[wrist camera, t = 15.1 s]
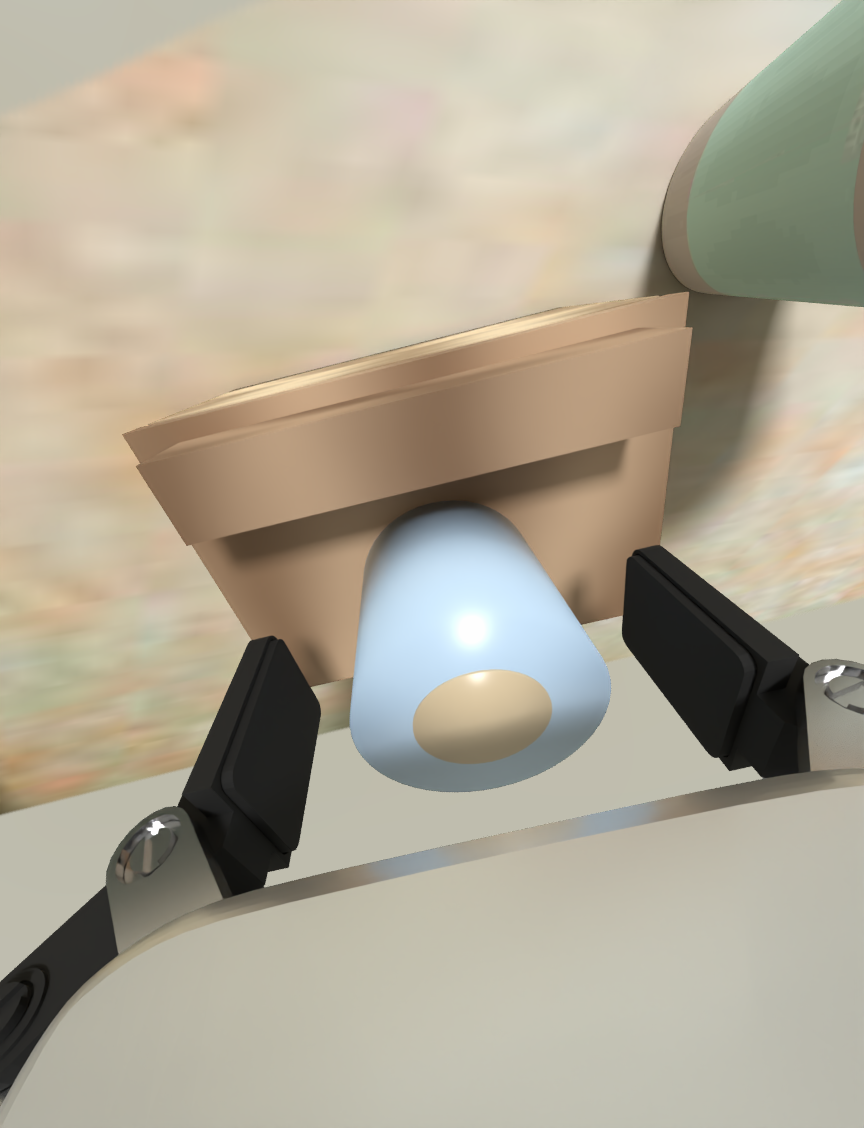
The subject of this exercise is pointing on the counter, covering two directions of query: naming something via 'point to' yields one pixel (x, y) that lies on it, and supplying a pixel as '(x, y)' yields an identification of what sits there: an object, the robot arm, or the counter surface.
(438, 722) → the pale blue rounded block
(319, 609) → the lid
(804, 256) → the coffee cup
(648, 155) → the counter surface
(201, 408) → the crate
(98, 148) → the counter surface
